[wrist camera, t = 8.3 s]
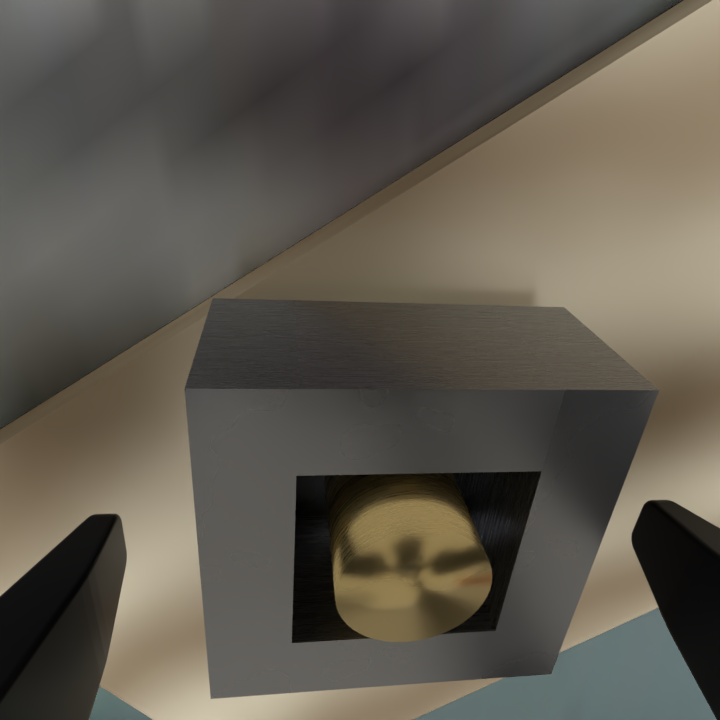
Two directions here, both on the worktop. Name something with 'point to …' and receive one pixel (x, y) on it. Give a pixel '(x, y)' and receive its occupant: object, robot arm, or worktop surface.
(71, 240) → the worktop surface
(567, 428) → the grey square frame
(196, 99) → the worktop surface
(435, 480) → the hub
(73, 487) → the board
